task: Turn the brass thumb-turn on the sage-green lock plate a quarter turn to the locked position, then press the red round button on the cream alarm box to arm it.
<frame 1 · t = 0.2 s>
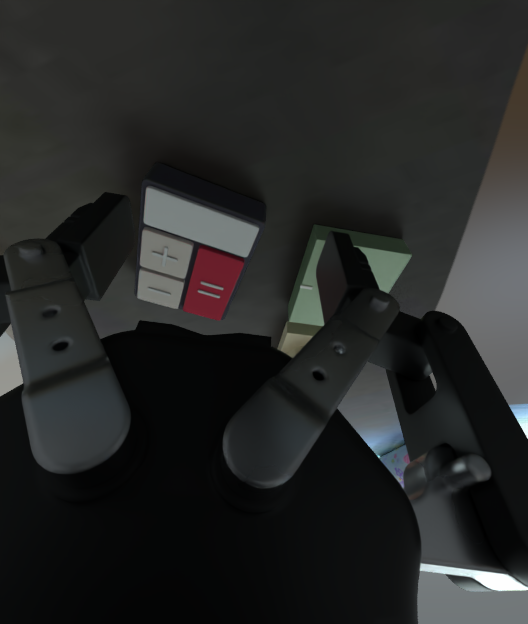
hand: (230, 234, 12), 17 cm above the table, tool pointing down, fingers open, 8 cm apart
lock plate: (339, 275, 35), on the table
pencil case: (405, 445, 72), on the table
alarm box: (306, 348, 45), on the table
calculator: (198, 245, 32), on the table
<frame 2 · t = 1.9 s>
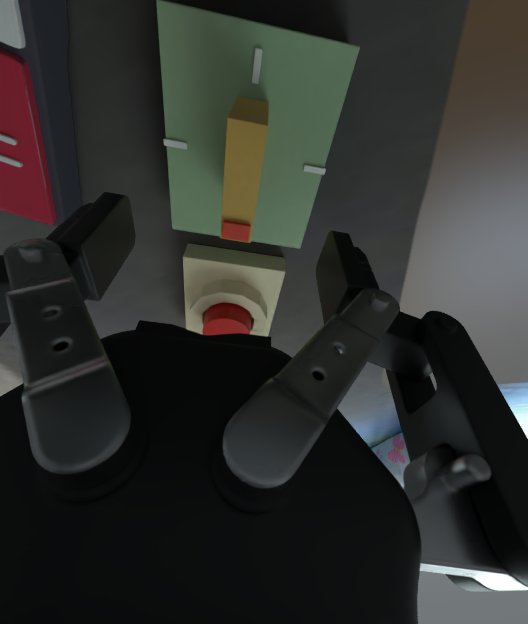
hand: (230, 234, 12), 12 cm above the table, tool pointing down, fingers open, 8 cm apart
lock plate: (249, 142, 20), on the table
pencil case: (391, 438, 58), on the table
alarm box: (232, 293, 30), on the table
lock turn: (243, 172, 16), point 6 cm above the table, hinge at 0.0°
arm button: (227, 326, 27), point 5 cm above the table, slide at 0.1 cm
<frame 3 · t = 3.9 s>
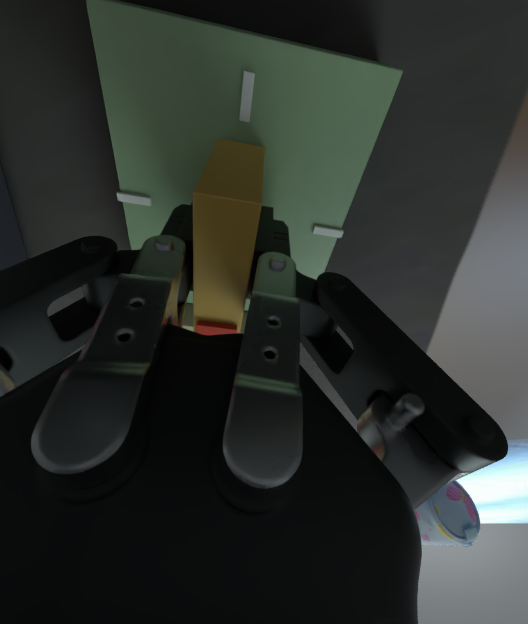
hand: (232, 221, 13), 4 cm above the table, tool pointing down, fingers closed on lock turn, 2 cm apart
lock plate: (240, 188, 15), on the table
pencil case: (401, 483, 52), on the table
lock turn: (228, 247, 11), point 6 cm above the table, hinge at 0.0°, touching gripper
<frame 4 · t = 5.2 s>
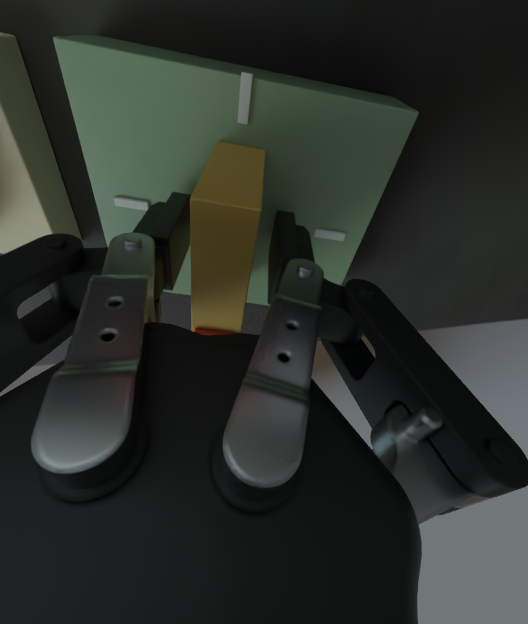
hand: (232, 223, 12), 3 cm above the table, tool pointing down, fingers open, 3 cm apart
lock plate: (239, 191, 15), on the table
lock turn: (227, 252, 11), point 6 cm above the table, hinge at 89.3°
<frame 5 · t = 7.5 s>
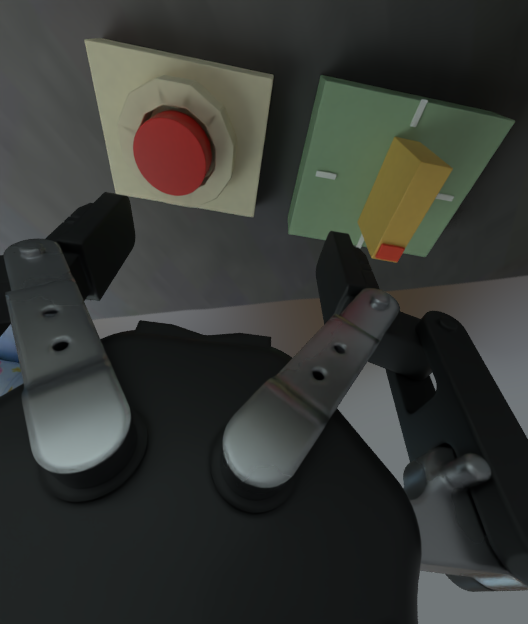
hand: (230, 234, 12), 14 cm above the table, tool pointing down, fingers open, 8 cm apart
lock plate: (375, 171, 23), on the table
alarm box: (190, 136, 21), on the table
lock turn: (396, 201, 19), point 6 cm above the table, hinge at 89.3°
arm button: (174, 155, 18), point 5 cm above the table, slide at 0.1 cm
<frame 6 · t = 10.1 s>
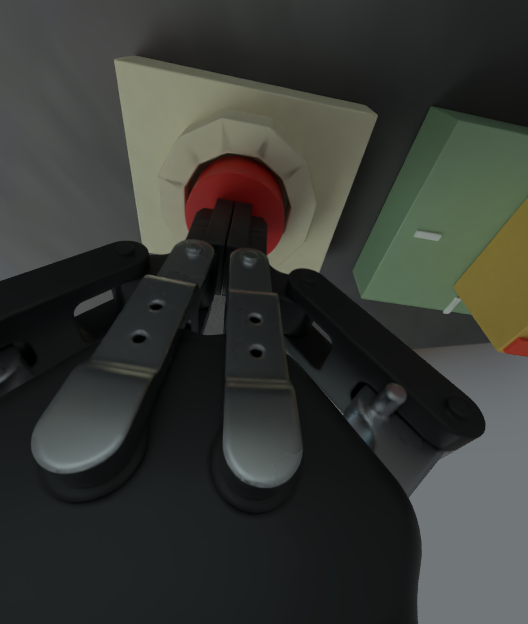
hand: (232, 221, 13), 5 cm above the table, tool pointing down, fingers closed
lock plate: (474, 221, 18), on the table
alarm box: (243, 179, 16), on the table
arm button: (236, 213, 13), point 4 cm above the table, slide at -0.3 cm, touching gripper
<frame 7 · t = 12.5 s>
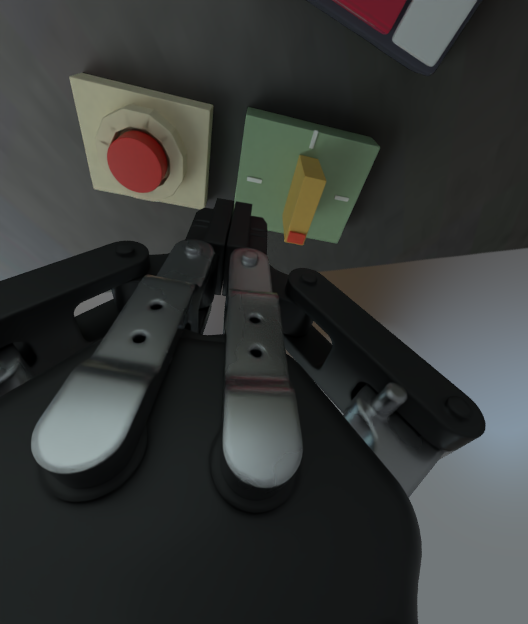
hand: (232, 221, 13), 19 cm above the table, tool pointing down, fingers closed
lock plate: (296, 177, 30), on the table
alarm box: (153, 145, 28), on the table
lock turn: (301, 201, 26), point 6 cm above the table, hinge at 89.3°
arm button: (138, 162, 25), point 5 cm above the table, slide at 0.1 cm
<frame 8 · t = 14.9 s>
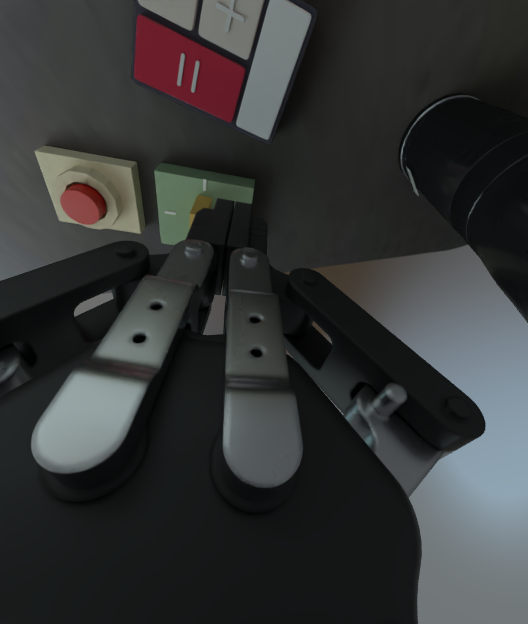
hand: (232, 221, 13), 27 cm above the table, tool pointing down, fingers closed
lock plate: (207, 207, 40), on the table
alarm box: (99, 189, 39), on the table
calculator: (223, 47, 29), on the table
lock turn: (200, 227, 36), point 6 cm above the table, hinge at 89.3°
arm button: (84, 204, 36), point 5 cm above the table, slide at 0.1 cm
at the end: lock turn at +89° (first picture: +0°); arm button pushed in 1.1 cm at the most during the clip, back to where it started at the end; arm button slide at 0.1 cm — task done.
